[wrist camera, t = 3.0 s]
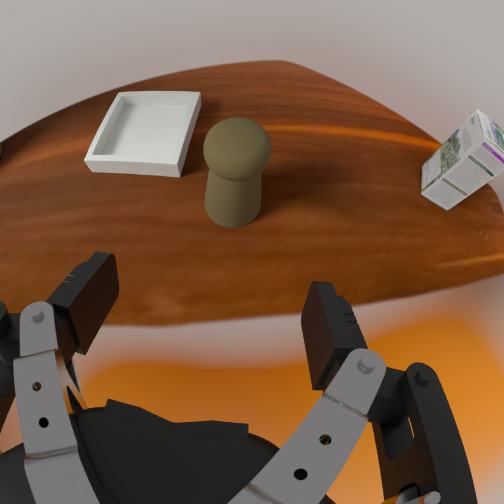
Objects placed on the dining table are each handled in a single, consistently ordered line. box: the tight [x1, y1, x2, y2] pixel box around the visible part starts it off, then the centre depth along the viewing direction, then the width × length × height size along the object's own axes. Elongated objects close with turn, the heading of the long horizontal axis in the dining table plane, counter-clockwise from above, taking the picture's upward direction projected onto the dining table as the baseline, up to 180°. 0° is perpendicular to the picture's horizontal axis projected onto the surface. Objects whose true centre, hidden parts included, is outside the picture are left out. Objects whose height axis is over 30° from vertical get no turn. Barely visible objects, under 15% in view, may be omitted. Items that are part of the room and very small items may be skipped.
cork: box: [203, 117, 272, 228], centre depth 24 cm, size 6×6×11 cm
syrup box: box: [421, 109, 504, 210], centre depth 26 cm, size 6×6×14 cm
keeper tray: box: [84, 91, 201, 177], centre depth 29 cm, size 12×12×3 cm
